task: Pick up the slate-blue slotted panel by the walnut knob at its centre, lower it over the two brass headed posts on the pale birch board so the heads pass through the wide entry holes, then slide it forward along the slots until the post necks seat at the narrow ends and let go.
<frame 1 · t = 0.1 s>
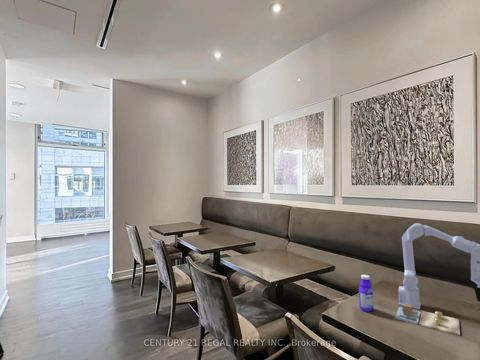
hand: (479, 298, 126), 10 cm above the table, fingers open, 7 cm apart
board: (439, 323, 123), on the table
bosses: (443, 324, 122), resting on board
panel: (407, 316, 130), on the table
bottle: (366, 309, 138), on the table
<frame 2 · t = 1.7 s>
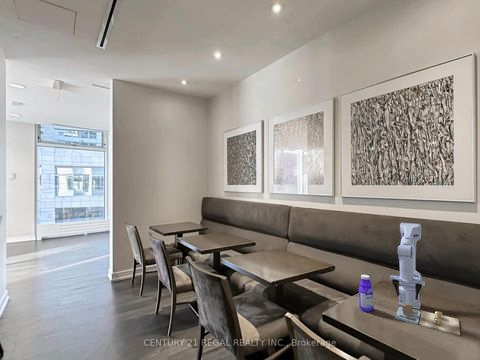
hand: (407, 297, 130), 9 cm above the table, fingers open, 7 cm apart
nothing on the table moved.
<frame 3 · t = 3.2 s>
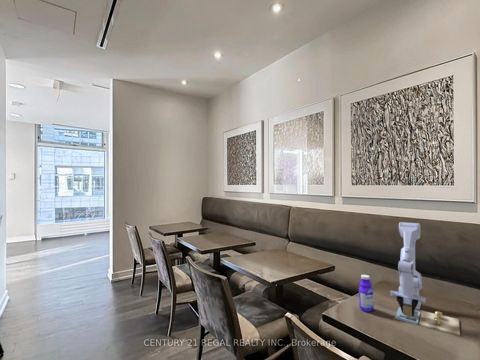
hand: (407, 313, 130), 1 cm above the table, fingers closed on panel, 4 cm apart
panel: (407, 316, 130), on the table, touching gripper
everything else where it was.
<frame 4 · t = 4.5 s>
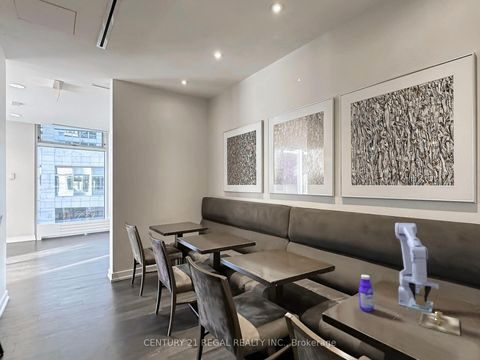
hand: (420, 300, 128), 9 cm above the table, fingers closed on panel, 4 cm apart
panel: (420, 306, 127), point 6 cm above the table, touching gripper
everything else where it was.
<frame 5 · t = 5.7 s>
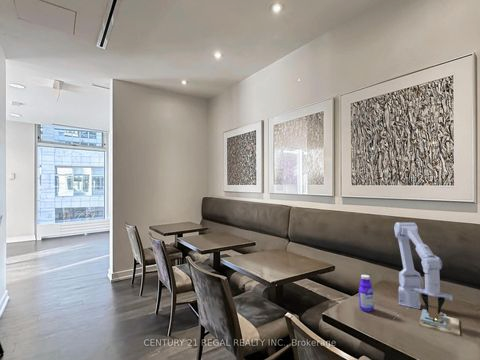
hand: (433, 311, 125), 5 cm above the table, fingers closed on panel, 4 cm apart
panel: (433, 318, 124), point 2 cm above the table, touching gripper
everything else where it was.
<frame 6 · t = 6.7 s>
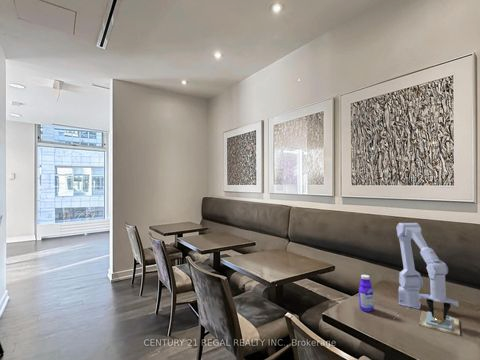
hand: (438, 317, 123), 3 cm above the table, fingers closed on panel, 4 cm apart
panel: (439, 321, 123), point 1 cm above the table, touching board, gripper
everything else where it was.
when the fingers open (2 cm above the table, at t = 7.5 s): panel stays where it is, resting on board.
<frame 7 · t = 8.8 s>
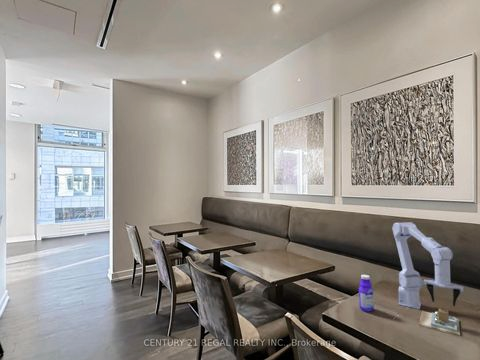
hand: (443, 303, 123), 9 cm above the table, fingers open, 7 cm apart
panel: (443, 322, 122), point 1 cm above the table, touching board
everything else where it was.
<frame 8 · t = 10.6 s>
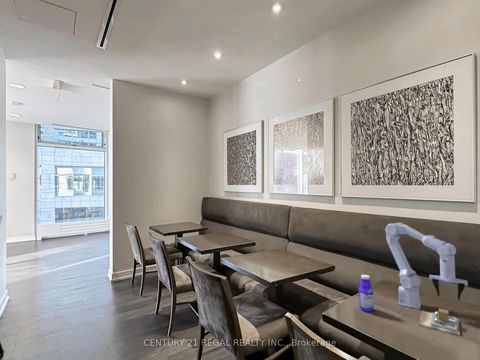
hand: (448, 297, 128), 10 cm above the table, fingers open, 7 cm apart
nothing on the table moved.
at the end: panel 0.2 cm off-centre on the bosses, point 0.8 cm above the bosses's base; panel tilted 0°; the gripper is holding nothing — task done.
